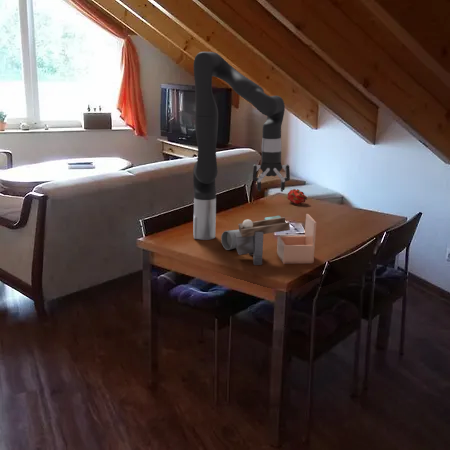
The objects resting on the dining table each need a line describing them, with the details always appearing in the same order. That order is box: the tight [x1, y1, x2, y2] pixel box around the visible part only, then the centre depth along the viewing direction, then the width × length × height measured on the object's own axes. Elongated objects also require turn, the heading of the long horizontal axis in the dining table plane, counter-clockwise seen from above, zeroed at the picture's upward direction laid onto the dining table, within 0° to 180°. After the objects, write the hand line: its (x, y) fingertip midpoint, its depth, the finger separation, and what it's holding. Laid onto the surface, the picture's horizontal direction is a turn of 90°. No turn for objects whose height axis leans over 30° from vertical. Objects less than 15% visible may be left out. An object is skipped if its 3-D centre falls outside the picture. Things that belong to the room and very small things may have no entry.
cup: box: [276, 213, 317, 265], centre depth 211 cm, size 12×12×16 cm
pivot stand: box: [248, 231, 264, 266], centre depth 209 cm, size 3×13×12 cm, turn 7°
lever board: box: [234, 215, 291, 256], centre depth 212 cm, size 20×16×10 cm
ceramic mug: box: [220, 229, 240, 251], centre depth 223 cm, size 11×8×8 cm
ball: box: [242, 218, 254, 229], centre depth 207 cm, size 4×4×4 cm
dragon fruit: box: [286, 188, 308, 206], centre depth 293 cm, size 8×8×12 cm
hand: (270, 191), depth 215 cm, fingers open, 8 cm apart
